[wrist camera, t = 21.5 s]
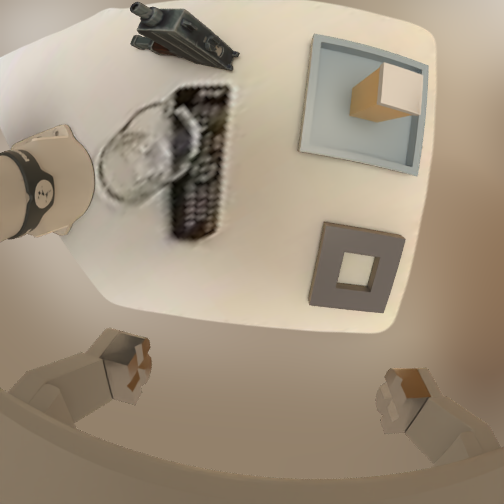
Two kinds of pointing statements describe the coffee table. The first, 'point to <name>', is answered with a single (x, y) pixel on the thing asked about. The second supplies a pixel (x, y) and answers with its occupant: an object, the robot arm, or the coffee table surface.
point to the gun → (180, 37)
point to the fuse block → (330, 260)
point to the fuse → (387, 94)
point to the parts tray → (338, 108)
